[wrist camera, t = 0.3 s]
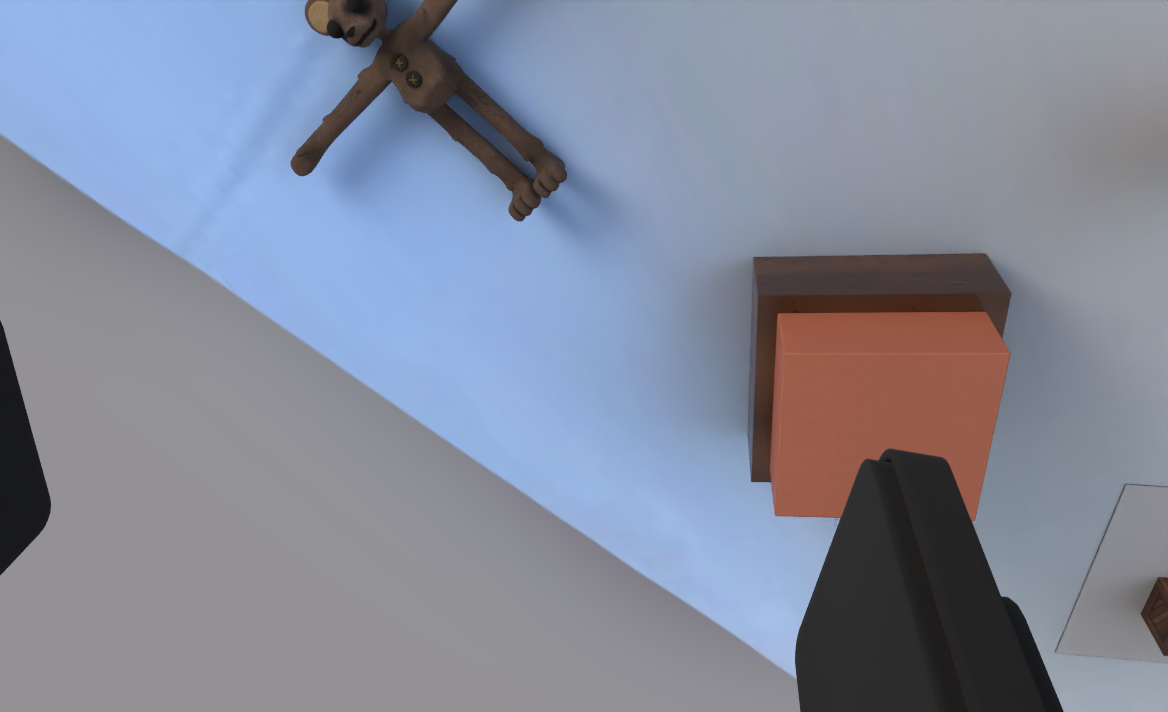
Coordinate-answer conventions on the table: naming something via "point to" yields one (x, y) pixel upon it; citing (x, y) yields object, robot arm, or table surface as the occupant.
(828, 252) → the table surface
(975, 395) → the stack top
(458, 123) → the brown creature figurine
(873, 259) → the stack base
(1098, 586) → the stack of crates
